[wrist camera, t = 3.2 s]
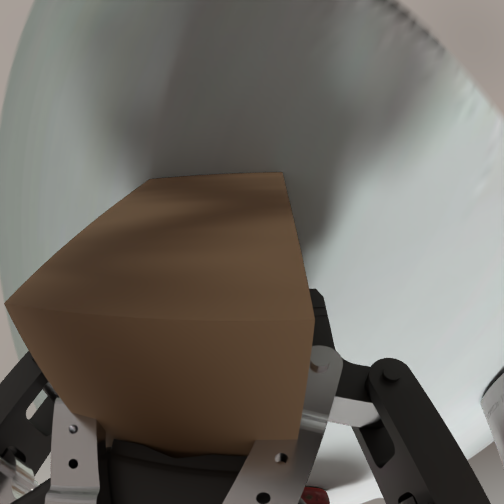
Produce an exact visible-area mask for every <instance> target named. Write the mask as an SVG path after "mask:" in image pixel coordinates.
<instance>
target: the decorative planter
mask: <svg viewBox="0 0 504 504" xmlns="http://www.w3.org/2000/svg"><path fill="white" fill-rule="evenodd" d="M301 498H302V499H303V501H304V502H305V503H306V504H330V502H329V497H328V495H327V493H326V491H324V490H323V489H320V488H314V487H305V488H304V490H303V493H302V495H301Z"/></svg>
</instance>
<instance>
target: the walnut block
mask: <svg viewBox="0 0 504 504" xmlns="http://www.w3.org/2000/svg"><path fill="white" fill-rule="evenodd" d="M4 304H5V306H6V308H7V310H8V312H9V314H10V317H11V318H12V320H13V322H14V324H15V326H16V328H17V330H18V332H19V334H20V336H21V337H22V339H23V341H24V343H25V345H26V346H27V348H28V350H29V351H30V353H31V355H32V356H33V358H34V360H35V361H36V363H37V365H38V366H39V368H40V369H41V371H42V372H43V374H44V375H45V377H46V378H47V380H48V381H49V383H50V384H51V386H52V387H53V389H54V390H55V391H56V393H57V394H58V396H59V397H60V398H61V400H62V401H63V402H64V404H65V405H66V406H67V408H68V409H69V410H70V412H72V413H76V414H79V415H83V416H86V417H90V418H94V419H97V421H98V422H99V423H100V425H101V426H102V427H103V428H104V430H105V431H106V435H105V437H106V447H111V446H112V443H113V440H114V439H117V440H122V441H126V442H131V443H135V444H140V445H144V446H146V447H148V448H151V449H153V450H155V451H158V452H160V453H162V454H165V455H167V456H169V457H172V458H186V457H196V456H204V455H211V454H213V455H227V456H248V455H249V453H250V451H251V449H252V447H253V445H254V443H255V441H256V440H289V439H298V434H299V429H300V423H301V417H302V411H303V405H304V399H305V393H306V386H307V379H308V372H309V365H310V357H311V350H312V342H313V333H314V325H315V317H314V312H313V307H312V302H311V297H310V292H309V287H308V282H307V277H306V272H305V267H304V263H303V258H302V254H301V249H300V244H299V240H298V236H297V231H296V227H295V222H294V218H293V214H292V210H291V205H290V201H289V197H288V193H287V189H286V185H285V181H284V177H283V173H282V172H263V173H232V174H212V175H195V176H181V177H168V178H157V179H149V180H148V181H146V182H145V183H143V184H142V185H141V186H139V187H138V188H137V189H135V190H134V191H132V192H131V193H130V194H128V195H127V196H126V197H124V198H123V199H122V200H120V201H119V202H118V203H116V204H115V205H114V206H112V207H111V208H110V209H108V210H107V211H106V212H105V213H103V214H102V215H101V216H99V217H98V218H97V219H96V220H94V221H93V222H92V223H91V224H90V225H88V226H87V227H86V228H85V229H83V230H82V231H81V232H80V233H79V234H77V235H76V236H75V237H74V238H73V239H72V240H70V241H69V242H68V243H67V244H66V245H65V246H63V247H62V248H61V249H60V250H59V251H58V252H57V253H56V254H54V255H53V256H52V257H51V258H50V259H49V260H48V261H47V262H46V263H45V264H43V265H42V266H41V267H40V268H39V269H38V270H37V271H36V272H35V273H34V274H33V275H32V276H31V277H30V278H29V279H28V280H27V281H26V282H25V283H24V284H23V285H22V286H21V287H20V288H19V289H18V290H17V291H16V292H15V293H14V294H13V295H12V296H11V297H10V298H9V299H8V300H7V301H6V302H5V303H4ZM277 463H278V464H285V462H282V461H279V462H277Z"/></svg>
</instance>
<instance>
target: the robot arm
mask: <svg viewBox="0 0 504 504" xmlns="http://www.w3.org/2000/svg"><path fill="white" fill-rule="evenodd" d="M309 292H310V297H311V302H312V307H313V312H314V317H315V325H314V333H313V342H312V350H311V357H310V365H309V372H308V379H307V386H306V393H305V399H304V405H303V411H302V417H301V423H300V429H299V434H298V439H289V440H256V441H255V443H254V445H253V447H252V449H251V451H250V453H249V455H248V456H227V455H213V454H211V455H204V456H196V457H186V458H172V457H169V456H167V455H165V454H162V453H160V452H158V451H155V450H153V449H151V448H148V447H146V446H144V445H140V444H135V443H131V442H126V441H122V440H117V439H114V440H113V443H112V446H111V447H106V437H105V435H106V431H105V430H104V428H103V427H102V426H101V425H100V423H99V422H98V421H97V419H94V418H90V417H86V416H83V415H79V414H76V413H72V412H70V410H69V409H68V408H67V406H66V405H65V404H64V402H63V401H62V400H61V398H60V397H59V396H58V394H57V393H56V391H55V390H54V389H53V387H52V386H51V384H50V383H49V381H48V380H47V378H46V377H45V375H44V374H43V372H42V371H41V369H40V368H39V366H38V365H37V363H36V361H35V360H34V358H33V356H32V355H31V353H30V351H28V352H27V353H26V354H25V356H24V357H23V358H22V359H21V360H20V361H19V362H18V363H17V365H16V366H15V367H14V368H13V369H12V370H11V372H10V373H9V374H8V375H7V376H6V377H5V379H4V380H3V381H2V382H1V384H0V504H306V503H305V502H304V501H303V499H302V498H301V495H302V493H303V490H304V488H305V485H306V483H307V480H308V477H309V475H310V472H311V469H312V467H313V464H314V461H315V458H316V456H317V453H318V450H319V447H320V444H321V441H322V438H323V435H324V432H325V429H326V425H327V421H329V422H334V423H339V424H344V425H349V426H351V427H352V429H353V431H354V433H355V435H356V438H357V440H358V442H359V444H360V446H361V449H362V451H363V453H364V455H365V457H366V460H367V462H368V464H369V466H370V468H371V471H372V473H373V475H374V477H375V479H376V482H377V484H378V486H379V488H380V491H381V493H382V495H383V497H384V500H385V502H386V504H491V503H490V501H489V499H488V498H487V496H486V494H485V492H484V490H483V488H482V486H481V484H480V483H479V481H478V479H477V477H476V475H475V474H474V472H473V470H472V468H471V467H470V465H469V463H468V461H467V459H466V458H465V456H464V454H463V452H462V451H461V449H460V447H459V446H458V444H457V442H456V441H455V439H454V437H453V436H452V434H451V432H450V431H449V429H448V427H447V426H446V424H445V422H444V421H443V419H442V418H441V416H440V414H439V413H438V411H437V410H436V408H435V407H434V405H433V403H432V402H431V400H430V399H429V397H428V396H427V394H426V393H425V391H424V390H423V388H422V387H421V385H420V384H419V382H418V381H417V379H416V378H415V376H414V375H413V373H412V372H411V370H410V369H409V367H408V366H407V365H406V364H405V363H403V362H402V361H400V360H397V359H393V358H384V359H380V360H378V361H376V362H375V363H374V364H373V365H372V366H371V367H368V366H362V365H357V364H353V363H350V362H348V361H346V360H344V359H343V358H342V357H341V356H340V354H339V353H338V352H337V351H336V350H335V347H334V342H333V338H332V333H331V328H330V324H329V319H328V315H327V310H326V306H325V302H324V297H323V296H322V295H321V294H320V293H319V292H318V290H317V289H309ZM42 389H43V390H44V392H45V393H46V394H47V395H48V397H47V398H46V399H45V400H44V402H43V403H42V404H41V406H40V407H39V408H38V410H37V411H36V412H35V414H34V415H33V416H32V418H31V419H29V420H28V419H27V418H26V410H27V408H28V407H29V405H30V404H31V403H32V402H33V400H34V399H35V398H36V396H37V395H38V394H39V393H40V391H41V390H42ZM481 407H482V409H483V412H484V414H485V417H486V419H487V422H488V424H489V427H490V430H491V432H492V435H493V438H494V441H495V444H496V447H497V450H498V453H499V456H500V459H501V462H502V465H503V468H504V373H503V374H502V375H501V376H500V377H499V378H498V379H497V380H496V381H495V382H494V383H493V385H492V386H491V387H490V388H489V389H488V391H487V392H486V393H485V395H484V396H483V398H482V400H481ZM50 452H51V478H49V479H48V480H46V481H45V482H44V483H42V484H40V485H38V482H37V481H35V480H34V476H35V474H36V473H37V472H38V470H39V468H40V467H41V465H42V464H43V462H44V461H45V459H46V458H47V456H48V455H49V453H50ZM279 461H282V462H285V464H278V463H277V462H279Z"/></svg>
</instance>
